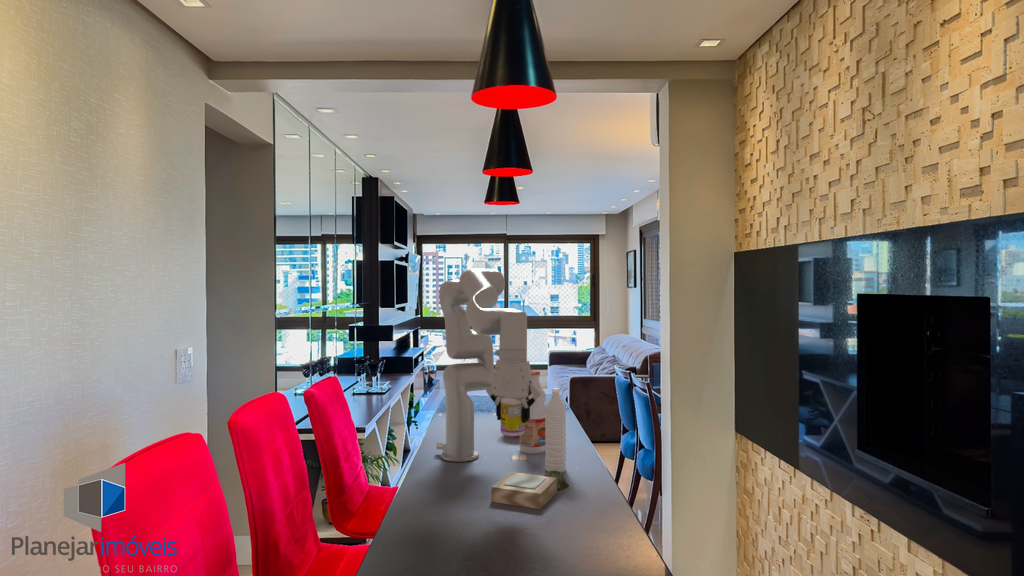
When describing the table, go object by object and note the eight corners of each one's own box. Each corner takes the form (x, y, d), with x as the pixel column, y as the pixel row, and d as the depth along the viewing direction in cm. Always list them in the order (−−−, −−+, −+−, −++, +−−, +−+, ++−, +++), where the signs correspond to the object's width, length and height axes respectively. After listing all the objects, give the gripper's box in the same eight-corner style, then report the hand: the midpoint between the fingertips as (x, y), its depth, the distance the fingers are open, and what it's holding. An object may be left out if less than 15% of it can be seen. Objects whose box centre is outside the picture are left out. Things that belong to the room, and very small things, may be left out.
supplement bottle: (500, 430, 168) (500, 384, 168) (523, 430, 169) (523, 384, 169) (501, 436, 162) (501, 389, 162) (525, 436, 162) (525, 388, 162)
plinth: (491, 501, 163) (491, 485, 163) (511, 485, 176) (511, 470, 176) (540, 509, 158) (540, 492, 157) (557, 491, 170) (557, 476, 170)
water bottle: (565, 473, 187) (565, 393, 187) (544, 472, 188) (544, 392, 187) (566, 465, 196) (566, 388, 195) (546, 464, 196) (546, 387, 196)
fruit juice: (520, 446, 218) (520, 369, 217) (546, 447, 217) (546, 369, 217) (518, 454, 208) (518, 373, 208) (546, 454, 208) (546, 373, 207)
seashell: (532, 474, 173) (542, 465, 183) (530, 489, 173) (541, 478, 183) (565, 481, 170) (574, 471, 179) (564, 496, 170) (573, 485, 179)
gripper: (478, 355, 165) (478, 420, 165) (537, 358, 158) (537, 426, 158) (490, 352, 172) (490, 414, 172) (547, 355, 165) (547, 420, 165)
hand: (512, 419), depth 165 cm, fingers closed on supplement bottle, 6 cm apart
